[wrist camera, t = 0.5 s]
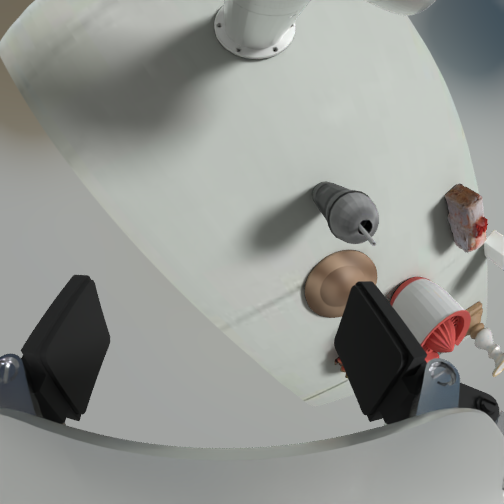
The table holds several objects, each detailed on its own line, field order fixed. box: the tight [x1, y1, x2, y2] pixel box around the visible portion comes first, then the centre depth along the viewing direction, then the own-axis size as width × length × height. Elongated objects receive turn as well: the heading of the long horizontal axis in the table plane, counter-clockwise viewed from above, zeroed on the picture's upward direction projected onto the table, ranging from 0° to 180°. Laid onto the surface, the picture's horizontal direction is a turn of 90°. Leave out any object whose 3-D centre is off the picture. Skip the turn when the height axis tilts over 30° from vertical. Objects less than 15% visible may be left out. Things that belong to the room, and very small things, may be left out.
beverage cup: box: [312, 182, 379, 246], centre depth 36 cm, size 7×7×20 cm
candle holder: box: [465, 302, 504, 377], centre depth 57 cm, size 11×11×24 cm
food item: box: [445, 184, 488, 252], centre depth 45 cm, size 14×8×10 cm, turn 35°
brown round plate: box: [305, 250, 377, 318], centre depth 54 cm, size 16×16×1 cm
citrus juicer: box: [390, 277, 471, 363], centre depth 50 cm, size 16×17×20 cm
